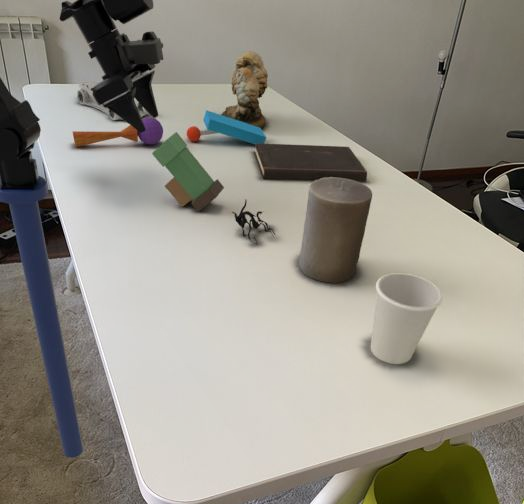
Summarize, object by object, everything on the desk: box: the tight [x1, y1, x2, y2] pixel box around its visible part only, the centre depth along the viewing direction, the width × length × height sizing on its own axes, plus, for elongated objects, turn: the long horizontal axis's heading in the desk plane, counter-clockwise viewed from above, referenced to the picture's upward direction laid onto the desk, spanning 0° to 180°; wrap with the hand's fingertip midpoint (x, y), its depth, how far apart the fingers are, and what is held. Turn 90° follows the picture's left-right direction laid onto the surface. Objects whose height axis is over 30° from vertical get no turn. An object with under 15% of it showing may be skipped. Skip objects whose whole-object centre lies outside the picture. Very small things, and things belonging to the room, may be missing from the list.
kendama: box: [72, 116, 164, 148], centre depth 125 cm, size 6×6×20 cm
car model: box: [76, 81, 149, 121], centre depth 147 cm, size 11×24×5 cm, turn 42°
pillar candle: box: [298, 177, 373, 284], centre depth 87 cm, size 10×10×15 cm
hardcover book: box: [253, 143, 368, 182], centre depth 125 cm, size 16×23×2 cm
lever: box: [186, 109, 267, 145], centre depth 134 cm, size 7×7×18 cm
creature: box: [231, 198, 276, 245], centre depth 97 cm, size 8×5×8 cm
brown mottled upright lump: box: [221, 50, 269, 130], centre depth 143 cm, size 18×12×17 cm, turn 9°
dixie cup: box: [370, 272, 444, 365], centre depth 72 cm, size 8×8×10 cm
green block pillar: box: [151, 131, 225, 212], centre depth 102 cm, size 12×5×12 cm, turn 76°
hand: (150, 124), depth 102 cm, fingers open, 9 cm apart
